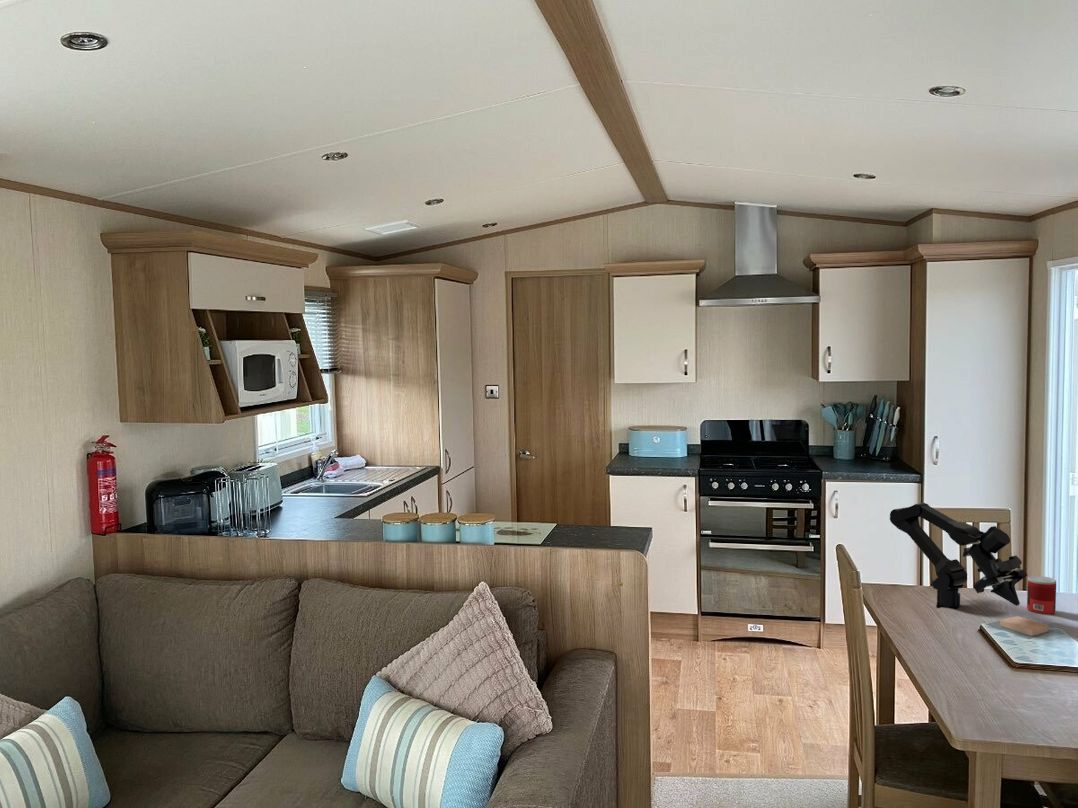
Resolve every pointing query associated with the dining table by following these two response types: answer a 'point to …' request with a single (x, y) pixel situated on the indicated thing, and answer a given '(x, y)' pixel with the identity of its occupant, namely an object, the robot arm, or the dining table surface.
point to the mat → (997, 625)
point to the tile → (1024, 626)
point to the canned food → (1041, 595)
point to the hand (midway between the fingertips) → (1018, 604)
